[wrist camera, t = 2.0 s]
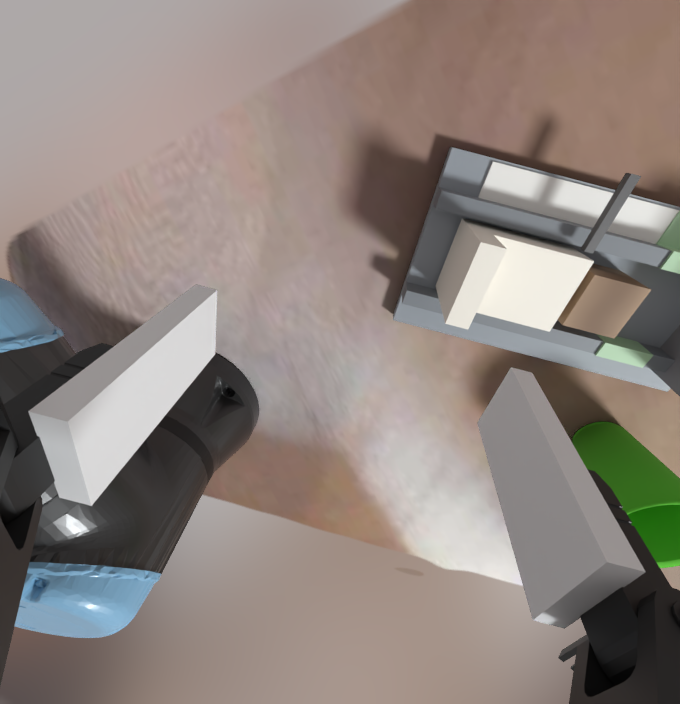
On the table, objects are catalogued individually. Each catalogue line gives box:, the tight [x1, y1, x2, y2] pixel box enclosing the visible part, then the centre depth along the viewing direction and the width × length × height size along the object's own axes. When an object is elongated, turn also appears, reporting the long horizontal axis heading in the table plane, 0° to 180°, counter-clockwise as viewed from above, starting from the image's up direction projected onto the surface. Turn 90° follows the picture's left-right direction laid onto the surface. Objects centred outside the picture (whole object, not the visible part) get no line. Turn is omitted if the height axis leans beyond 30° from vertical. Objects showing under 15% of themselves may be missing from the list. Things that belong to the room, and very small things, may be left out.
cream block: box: [436, 173, 641, 332], centre depth 24 cm, size 9×11×7 cm
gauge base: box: [393, 147, 680, 396], centre depth 26 cm, size 26×14×8 cm, turn 78°
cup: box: [572, 422, 680, 568], centre depth 33 cm, size 9×9×11 cm
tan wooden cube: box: [558, 263, 651, 339], centre depth 27 cm, size 4×4×4 cm
